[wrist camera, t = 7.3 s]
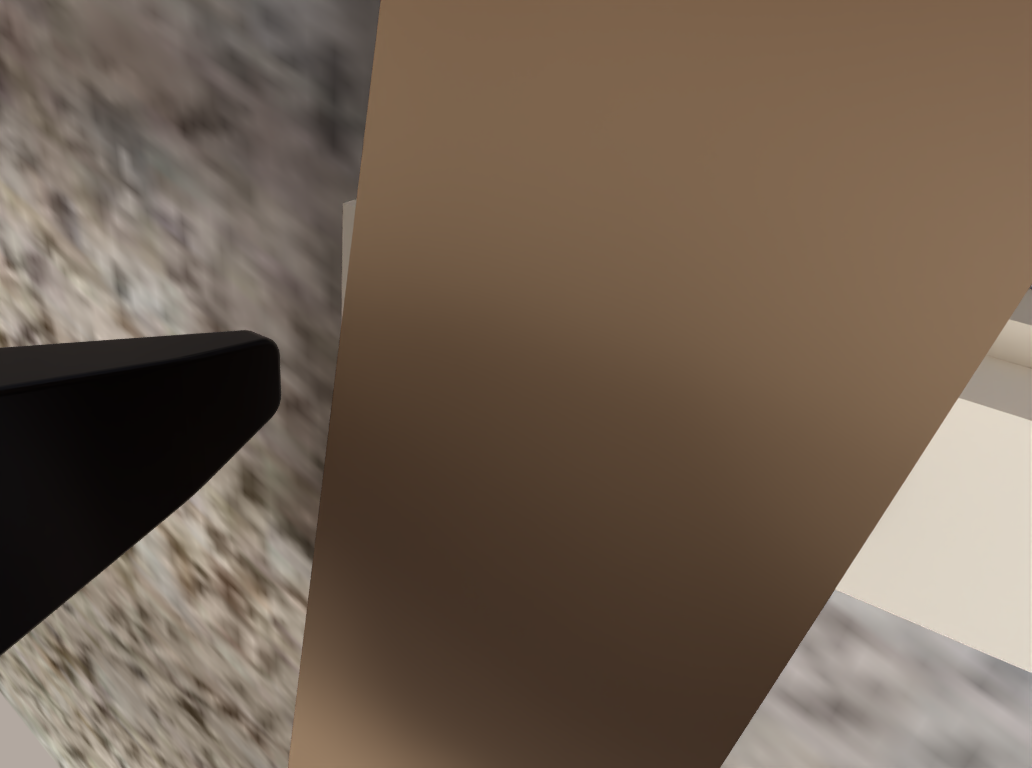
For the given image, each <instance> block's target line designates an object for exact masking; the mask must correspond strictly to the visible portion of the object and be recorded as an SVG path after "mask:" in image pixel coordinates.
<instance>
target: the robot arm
mask: <svg viewBox="0 0 1032 768" xmlns="http://www.w3.org/2000/svg"><path fill="white" fill-rule="evenodd" d="M280 400H281V378H280V353H279V349H278V347H277V344H276V343H275V342H274V341H273V340H271V339H269V338H267V337H264V336H262V335H260V334H257V333H255V332H252V331H248V330H241V331H227V332H213V333H199V334H185V335H171V336H157V337H143V338H129V339H116V340H102V341H88V342H74V343H60V344H46V345H32V346H18V347H4V348H0V656H1V655H2V654H3V653H5V652H6V651H7V650H8V649H9V648H11V647H12V646H13V645H14V644H15V643H17V642H18V641H19V640H20V639H21V638H23V637H24V636H25V635H26V634H27V633H29V632H30V631H31V630H32V629H33V628H35V627H36V626H37V625H38V624H39V623H41V622H42V621H43V620H44V619H46V618H47V617H48V616H49V615H50V614H52V613H53V612H54V611H55V610H56V609H58V608H59V607H60V606H61V605H62V604H64V603H65V602H66V601H67V600H68V599H70V598H71V597H72V596H73V595H74V594H76V593H77V592H78V591H79V590H80V589H82V588H83V587H84V586H85V585H87V584H88V583H89V582H90V581H91V580H93V579H94V578H95V577H96V576H97V575H99V574H100V573H101V572H102V571H103V570H105V569H106V568H107V567H108V566H109V565H111V564H112V563H113V562H114V561H115V560H117V559H118V558H119V557H120V556H121V555H123V554H124V553H125V552H126V551H127V550H129V549H130V548H131V547H132V546H134V545H135V544H136V543H137V542H138V541H140V540H141V539H142V538H143V537H144V536H146V535H147V534H148V533H149V532H150V531H152V530H153V529H154V528H155V527H156V526H158V525H159V524H160V523H161V522H162V521H164V520H165V519H166V518H167V517H168V516H170V515H171V514H172V513H173V512H174V511H176V510H177V509H178V508H179V507H180V506H182V505H183V504H184V503H185V502H186V501H187V500H189V499H190V498H191V497H192V496H193V495H194V494H195V493H196V492H197V491H198V490H199V489H201V488H202V487H203V486H204V485H205V484H206V483H207V482H208V481H209V480H210V479H211V478H212V477H213V476H214V475H215V474H216V473H217V472H218V471H219V470H220V469H221V468H222V467H223V466H224V465H225V464H226V463H227V462H228V461H229V460H230V459H231V458H232V457H233V456H234V455H235V454H236V453H237V452H238V451H239V450H240V449H241V448H242V447H243V446H244V445H245V444H246V443H247V442H248V441H249V440H250V439H251V438H252V437H253V436H254V435H255V434H256V433H257V432H258V431H259V430H260V429H261V428H262V427H263V426H264V425H265V424H266V423H267V422H268V421H269V420H270V419H271V418H272V417H273V415H274V414H275V413H276V411H277V409H278V407H279V405H280Z"/></svg>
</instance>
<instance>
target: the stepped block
mask: <svg viewBox="0 0 1032 768" xmlns="http://www.w3.org/2000/svg"><path fill="white" fill-rule="evenodd" d="M356 200H357V199H355V200H351V201H348V202H345V203H343V231H342V316H343V308H344V299H345V291H346V283H347V275H348V266H349V258H350V250H351V241H352V233H353V225H354V217H355V208H356ZM835 590H837V591H840V592H842V593H844V594H847V595H849V596H852V597H854V598H856V599H859V600H861V601H863V602H866V603H868V604H870V605H873V606H875V607H877V608H880V609H882V610H885V611H887V612H889V613H892V614H894V615H896V616H899V617H901V618H903V619H906V620H908V621H910V622H913V623H915V624H918V625H920V626H922V627H925V628H927V629H929V630H932V631H934V632H936V633H939V634H941V635H943V636H946V637H948V638H951V639H953V640H955V641H958V642H960V643H962V644H965V645H967V646H969V647H972V648H974V649H976V650H979V651H981V652H984V653H986V654H988V655H991V656H993V657H995V658H998V659H1000V660H1002V661H1005V662H1007V663H1009V664H1012V665H1014V666H1017V667H1019V668H1021V669H1024V670H1026V671H1028V672H1031V673H1032V289H1028V291H1027V292H1026V294H1025V295H1024V297H1023V298H1022V300H1021V302H1020V303H1019V305H1018V306H1017V308H1016V309H1015V311H1014V312H1013V314H1012V316H1011V317H1010V319H1009V320H1008V322H1007V323H1006V325H1005V326H1004V328H1003V329H1002V331H1001V333H1000V334H999V336H998V337H997V339H996V340H995V342H994V343H993V345H992V347H991V348H990V350H989V351H988V353H987V354H986V356H985V357H984V359H983V361H982V362H981V364H980V365H979V367H978V368H977V370H976V371H975V373H974V374H973V376H972V378H971V379H970V381H969V382H968V384H967V385H966V387H965V388H964V390H963V392H962V393H961V395H960V396H959V398H958V399H957V401H956V402H955V404H954V406H953V407H952V409H951V410H950V412H949V413H948V415H947V416H946V418H945V419H944V421H943V423H942V424H941V426H940V427H939V429H938V430H937V432H936V433H935V435H934V437H933V438H932V440H931V441H930V443H929V444H928V446H927V447H926V449H925V451H924V452H923V454H922V455H921V457H920V458H919V460H918V461H917V463H916V464H915V466H914V468H913V469H912V471H911V472H910V474H909V475H908V477H907V478H906V480H905V482H904V483H903V485H902V486H901V488H900V489H899V491H898V492H897V494H896V495H895V497H894V499H893V500H892V502H891V503H890V505H889V506H888V508H887V509H886V511H885V513H884V514H883V516H882V517H881V519H880V520H879V522H878V523H877V525H876V527H875V528H874V530H873V531H872V533H871V534H870V536H869V537H868V539H867V540H866V542H865V544H864V545H863V547H862V548H861V550H860V551H859V553H858V554H857V556H856V558H855V559H854V561H853V562H852V564H851V565H850V567H849V568H848V570H847V572H846V573H845V575H844V576H843V578H842V579H841V581H840V582H839V584H838V585H837V587H836V589H835Z"/></svg>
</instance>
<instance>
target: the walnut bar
mask: <svg viewBox="0 0 1032 768" xmlns="http://www.w3.org/2000/svg"><path fill="white" fill-rule="evenodd" d="M1031 285H1032V0H381V1H380V10H379V18H378V26H377V35H376V43H375V51H374V59H373V68H372V76H371V84H370V93H369V101H368V109H367V117H366V126H365V134H364V142H363V150H362V159H361V167H360V175H359V184H358V192H357V200H356V208H355V217H354V225H353V233H352V241H351V250H350V258H349V266H348V275H347V283H346V291H345V299H344V308H343V316H342V324H341V333H340V341H339V349H338V357H337V366H336V374H335V382H334V390H333V399H332V407H331V415H330V424H329V432H328V440H327V448H326V457H325V465H324V473H323V481H322V490H321V498H320V506H319V515H318V523H317V531H316V539H315V548H314V556H313V564H312V573H311V581H310V589H309V597H308V606H307V614H306V622H305V630H304V639H303V647H302V655H301V664H300V672H299V680H298V688H297V697H296V705H295V713H294V721H293V730H292V738H291V746H290V755H289V763H288V768H720V767H721V765H722V764H723V762H724V761H725V759H726V758H727V756H728V755H729V753H730V751H731V750H732V748H733V747H734V745H735V744H736V742H737V741H738V739H739V738H740V736H741V734H742V733H743V731H744V730H745V728H746V727H747V725H748V724H749V722H750V720H751V719H752V717H753V716H754V714H755V713H756V711H757V710H758V708H759V706H760V705H761V703H762V702H763V700H764V699H765V697H766V696H767V694H768V693H769V691H770V689H771V688H772V686H773V685H774V683H775V682H776V680H777V679H778V677H779V675H780V674H781V672H782V671H783V669H784V668H785V666H786V665H787V663H788V661H789V660H790V658H791V657H792V655H793V654H794V652H795V651H796V649H797V648H798V646H799V644H800V643H801V641H802V640H803V638H804V637H805V635H806V634H807V632H808V630H809V629H810V627H811V626H812V624H813V623H814V621H815V620H816V618H817V617H818V615H819V613H820V612H821V610H822V609H823V607H824V606H825V604H826V603H827V601H828V599H829V598H830V596H831V595H832V593H833V592H834V590H835V589H836V587H837V585H838V584H839V582H840V581H841V579H842V578H843V576H844V575H845V573H846V572H847V570H848V568H849V567H850V565H851V564H852V562H853V561H854V559H855V558H856V556H857V554H858V553H859V551H860V550H861V548H862V547H863V545H864V544H865V542H866V540H867V539H868V537H869V536H870V534H871V533H872V531H873V530H874V528H875V527H876V525H877V523H878V522H879V520H880V519H881V517H882V516H883V514H884V513H885V511H886V509H887V508H888V506H889V505H890V503H891V502H892V500H893V499H894V497H895V495H896V494H897V492H898V491H899V489H900V488H901V486H902V485H903V483H904V482H905V480H906V478H907V477H908V475H909V474H910V472H911V471H912V469H913V468H914V466H915V464H916V463H917V461H918V460H919V458H920V457H921V455H922V454H923V452H924V451H925V449H926V447H927V446H928V444H929V443H930V441H931V440H932V438H933V437H934V435H935V433H936V432H937V430H938V429H939V427H940V426H941V424H942V423H943V421H944V419H945V418H946V416H947V415H948V413H949V412H950V410H951V409H952V407H953V406H954V404H955V402H956V401H957V399H958V398H959V396H960V395H961V393H962V392H963V390H964V388H965V387H966V385H967V384H968V382H969V381H970V379H971V378H972V376H973V374H974V373H975V371H976V370H977V368H978V367H979V365H980V364H981V362H982V361H983V359H984V357H985V356H986V354H987V353H988V351H989V350H990V348H991V347H992V345H993V343H994V342H995V340H996V339H997V337H998V336H999V334H1000V333H1001V331H1002V329H1003V328H1004V326H1005V325H1006V323H1007V322H1008V320H1009V319H1010V317H1011V316H1012V314H1013V312H1014V311H1015V309H1016V308H1017V306H1018V305H1019V303H1020V302H1021V300H1022V298H1023V297H1024V295H1025V294H1026V292H1027V291H1028V289H1029V288H1030V286H1031Z"/></svg>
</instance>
